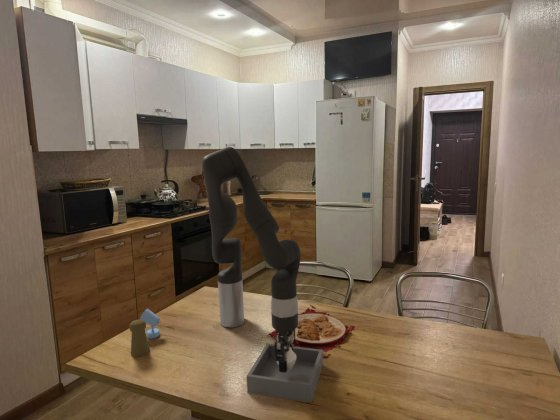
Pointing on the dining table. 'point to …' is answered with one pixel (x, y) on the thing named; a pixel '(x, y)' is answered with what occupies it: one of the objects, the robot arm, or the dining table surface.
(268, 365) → the serving bin
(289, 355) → the white ribbed rounded piece
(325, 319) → the plate with food
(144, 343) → the olive pepper mill
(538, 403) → the dining table surface
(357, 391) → the dining table surface
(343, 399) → the dining table surface
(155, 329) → the spotlight
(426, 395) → the dining table surface
